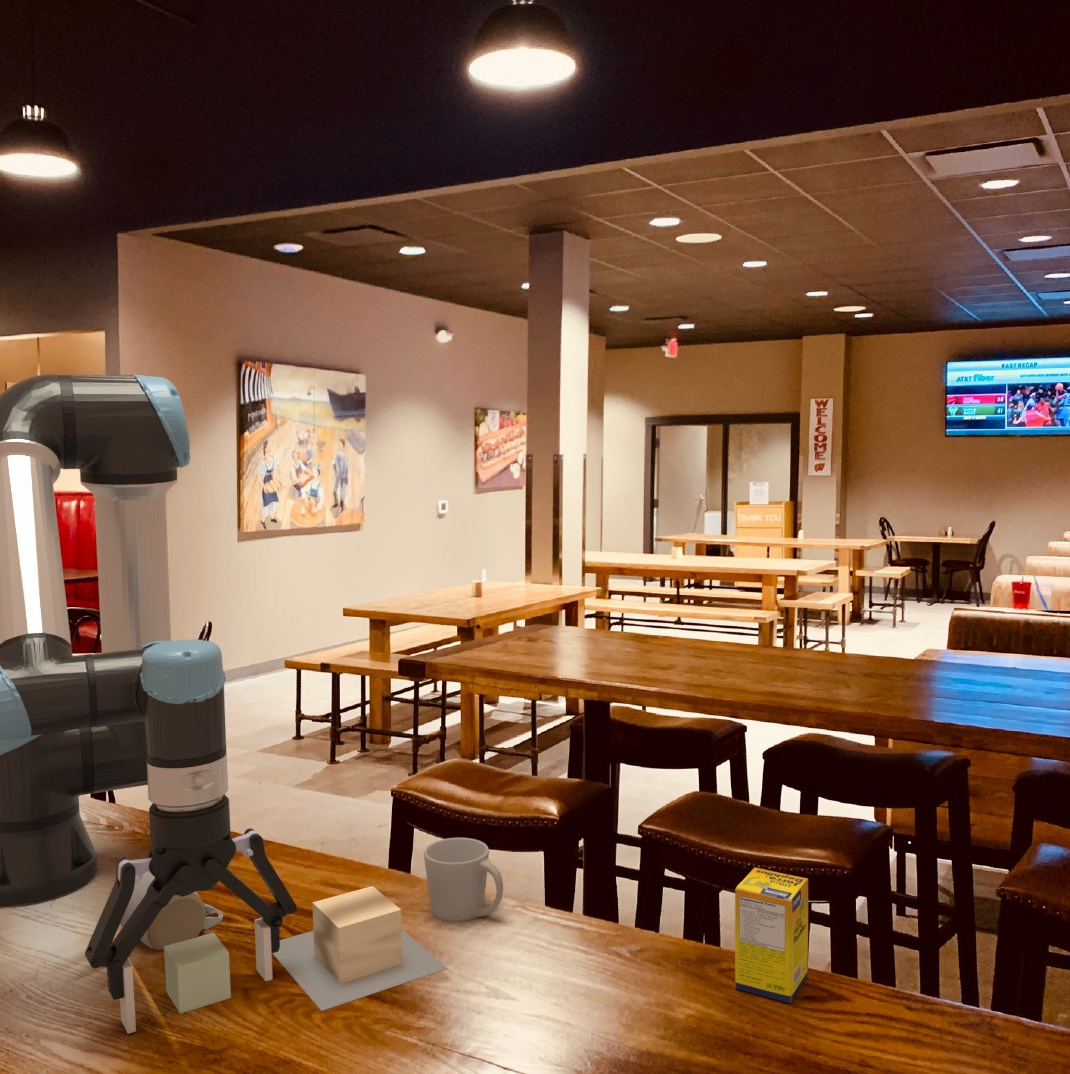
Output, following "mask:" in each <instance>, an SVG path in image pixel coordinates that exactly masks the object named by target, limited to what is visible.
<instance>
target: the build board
mask: <svg viewBox="0 0 1070 1074" xmlns="http://www.w3.org/2000/svg"><path fill="white" fill-rule="evenodd" d="M401 929H402V964H401V965H398V966H395V967H392V968H389V969H386V970H383V971H379V972H376V973H373V974H370V975H367V976H364V977H361V978H358V979H355V980H352V981H349V982H346V983H343V984H340V983H339V982H338V981H337V980H336V979H335V978H334V977H333V975H332V974H331V973H330V972H329V971H328V970H327V969H326V968H325V967H324V966H323V965H322V964H321V963H320V961H319V960H318V959H317V958H316V957H315V956H314V931H313V930H311V931H308V932H303V933H301V934H297V935H294V936H293V935H292V936H290V937H286V938H283V939H280V948H279V951H278V952H275V953H272V956H274V957H275V959H276V960H277V961H278V962H279V963H280V964H281V966H283V968H284V969H285V970H286V971H287V973H288V974H289V975H290V977H292V979H293V980H294V981H295V983H297V984H298V986H300V988H301V989H302V991H304V993H305V994H307V996H308V998H310V999H311V1001H312V1002H313V1003H314V1004H315V1005H316V1006H317V1007H316V1008H318V1009H319V1011H321V1012H323V1011H327V1010H329V1009H332V1008H335V1007H339V1006H340V1005H341V1006H342V1005H343V1004H347V1003H350V1002H353V1001H356V1000H359V999H361V998H364V997H368V996H371V995H374V994H377V993H380V992H382V991H385V990H388V989H392V988H395V987H398V986H400V985H403V984H406V983H409V982H412V981H415V980H418V979H422V978H425V977H427V976H430V975H433V974H436V973H439V972H441V971H445V970H447V969H449V968H448V967H447V966H446V965H445V964H443V962H441V961H440V960H439V959H438V958H436V957H435V956H434V955H433V954H432V953H431V952H430V951H428V950H427V949H426V947H424V946H423V945H422V944H420V943H419V942H418V941H417V940H416V939H414V938H413V937H412V936H411V935H410V934H409V933H407V932H406V931H405V930H404V928H402V927H401Z"/></svg>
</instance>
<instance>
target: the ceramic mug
mask: <svg viewBox="0 0 1070 1074" xmlns="http://www.w3.org/2000/svg"><path fill="white" fill-rule="evenodd" d="M154 878H155V877H154V876H153V875H152V874H151V873H150V871H148V872H146V873H144V874H143V876H142V878H141V881H140V882H139V883H137V884H135V886H134V891H133V894H132V897H131V899H130V902H129V904H128V906H127V909H126V911H125V913H124V916H123V918H122V920H121V923H120V925H121V927H122V928H123V926H124V925H125V923H126V922H127V920H128V919H129V918H130V916H131V915H132V913H133V912H134V910H135V909H136V908H137V906H138V905H139V903H140V902H141V900H142V899H143V898H144V896H145V895H146V893H147V889H148V887H149V885H150V884H151V882H152V881H153V880H154ZM215 913H217V915H218V916H214V917H213V916H207V915H211V914H212V915H213V914H215ZM223 919H224V914H223V913H222V911H220V910H219V909H218V908H216V907H214V906H212V905H210V904H208V903H207V904H206V903H205V902H203V899H202V897H201V896H200V895H199V894H198V891H196V892H194V893H192V894H190V895H187V896H183V897H180V896H179V895H174V896H173V897H172V899H171V900H170V902H169V903H168V904H167V906H165V907H163V908H162V909H161V911H160V912H159V914H158V915H157V917H156V918H155V920H154V921H153V922H152V924H151V925H150V927H149V928H148V930H147V931H146V933H145V934H144V935H143V937H142V938H141V940H140V941H141V942H142V943H143V944H144V945H146V947H148V948H150V949H152V950H155V951H164V946H167V945H171V944H174V943H178V942H182V941H185V940H189V939H192V938H196V937H199V936H200V933H201V932H202V931H206V930H208V929H210V928H213V927H215V926H217V925H218V924H220V923H221V922H222V921H223Z"/></svg>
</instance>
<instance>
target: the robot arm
mask: <svg viewBox="0 0 1070 1074" xmlns="http://www.w3.org/2000/svg"><path fill="white" fill-rule="evenodd" d="M190 445H191V444H190V433H189V428H188V423H187V418H186V414H185V410H184V406H183V403H182V400H181V396H180V393H179V392H178V389H177V388H176V386H175V385H174V383H172V381H170V380H169V379H167V378H165V377H162V376H151V375H140V374H116V375H115V374H111V375H110V374H107V375H105V374H103V375H102V374H100V375H99V374H98V375H96V374H94V375H93V374H89V375H88V374H58V373H46V374H38V375H35V376H30V377H28V378H24V379H22V380H21V381H18V382H16V383H15V384H12V385H11V386H10V387H8V388H7V389H5V390H4V391H2V392H1V393H0V907H10V906H11V907H13V906H24V905H28V904H29V905H31V904H36V903H41V902H44V901H49V900H52V899H57V898H60V897H62V896H65V895H67V894H69V893H73V892H74V891H76V890H79V889H80V888H82V887H84V886H86V885H87V884H88V883H90V882H91V881H92V880H93V879H94V878H95V877H96V875H97V873H98V870H99V869H98V856H97V855H98V853H97V851H96V849H95V846H94V844H93V842H92V839H91V837H90V835H89V832H88V830H87V828H86V825H85V823H84V821H83V819H82V816H81V813H80V798H79V797H80V796H85V795H91V794H98V793H104V792H105V793H106V792H109V791H110V792H111V791H116V790H125V789H129V788H135V787H143V786H147V798H148V801H150V802H151V805H150V807H149V808H148V816H149V817H148V818H149V819H148V821H149V835H150V850H149V854H148V856H147V858H139V859H132V860H130V859H129V857H127V856H122V857H120V858H119V859H117V861H116V867H115V868H116V871H115V882H114V884H113V887H112V889H111V891H110V893H109V895H108V897H107V900H106V903H105V905H104V907H103V910H102V912H101V914H100V916H99V918H98V921H97V924H96V926H95V928H94V931H93V932H92V934H91V937H90V940H89V942H88V944H87V946H86V949H85V951H84V955H85V958H86V960H87V962H88V964H89V965H90V967H91V968H92V969H99V968H105V969H106V974H107V975H106V976H107V977H106V978H107V989H108V992H109V994H110V997H111V998H112V999H113V1001H116V1000H119V1004H120V1021H121V1023H122V1025H123V1028H124V1029H125V1031H126V1033H127V1034H128V1035H129V1034H131V1033H134V1032H135V1033H136V1032H137V1027H136V1026H137V1025H136V1009H135V1005H136V1004H135V992H134V991H135V989H134V971H133V965H132V963H131V962H130V960H129V957H130V956H131V955H132V953H133V951H134V950H135V949H136V947H137V946H138V944H139V943H140V941H141V938H142V937H143V935H144V934H145V933H146V931H147V930H148V928H149V927H150V925H151V924H152V922H153V921H154V920H155V918H156V917H157V915H158V914H159V912H160V911H161V909H162V908H163V907H165V906H167V904H168V903H169V902H170V900H171V899H172V897H173V896H174V895H179V896H180V897H183V896H187V895H190V894H192V893H194V892H206V891H211V890H213V888H214V886H216V885H217V884H218V883H219V882H220V883H221V884H222V885H224V886H225V887H226V888H227V889H228V890H230V891H231V892H232V893H233V894H235V895H236V896H237V897H238V899H240V900H241V901H243V902H244V903H245V904H246V905H247V906H248V907H249V908H251V909H252V910H253V911H255V912H256V913H257V914H258V915H259V916H260V917H259V918H257V919H254V920H253V922H254V938H255V940H254V941H255V963H256V964H255V965H256V966H255V967H256V971H257V973H258V974H259V976H260V977H261V978H263V981H265V982H267V981H272V980H273V962H272V961H273V959H272V958H273V957H272V956H273V954H272V953H275V952H278V951H279V948H280V940H281V938H280V927H281V926H282V925H283V922H284V919H283V918H284V917H285V916H287V915H293V914H294V913H296V911H297V907H298V906H297V904H296V902H295V900H294V899H293V898H292V896H291V894H290V892H289V891H288V889H287V888H286V886H285V885H284V882H283V881H282V880H281V878H280V877H279V875H278V873H277V872H276V870H275V868H274V866H273V865H272V863H271V862H270V860H269V859H268V857H267V855H266V851H265V850H266V849H265V844H264V839H263V837H262V836H261V835H260V834H259V833H258V832H257V831H255V829H254V828H247V829H246V830H245V831H244V832H243V834H242V835H239V836H236V837H234V838H233V837H232V835H231V815H230V814H231V813H230V812H231V811H230V798H229V797H228V796H227V795H226V794H227V792H228V791H229V776H228V774H229V771H228V754H227V735H226V734H227V733H226V710H225V706H226V705H225V704H226V703H225V700H226V699H225V682H226V672H225V670H224V668H223V667H224V666H223V655H222V654H223V653H222V650H221V648H220V646H219V645H218V644H216V643H215V642H213V641H211V640H203V639H197V638H196V639H195V638H194V639H193V638H191V639H175V640H172V630H171V608H170V607H171V603H170V581H169V580H170V579H169V577H170V576H169V575H170V574H169V554H168V553H169V552H168V529H167V527H168V525H167V524H168V522H167V521H168V520H167V502H166V501H167V499H166V498H167V497H166V495H167V494H168V491H169V490H171V488H172V487H174V485H176V483H178V468H180V469H183V468H184V467H187V466H188V465H189V463H190V460H191V452H190V450H191V447H190ZM61 470H79V477H80V478H79V479H80V485H82V486H83V487H84V488H85V489H86V490H88V491H89V492H90V493H91V494H92V496H93V498H94V515H95V535H96V538H95V539H96V559H97V576H98V577H97V578H98V579H97V580H98V597H99V599H98V600H99V619H100V636H101V637H100V640H101V642H100V643H101V652H100V653H87V654H80V655H76V654H75V655H73V651H72V640H71V631H70V624H69V623H70V622H69V614H68V605H67V598H66V596H67V595H66V589H65V588H66V587H65V580H64V569H63V559H62V554H61V553H62V552H61V544H60V542H61V540H60V534H59V533H60V532H59V526H58V517H57V508H56V498H55V491H54V484H56V482H57V481H58V479H59V477H60V474H61ZM237 851H239V852H240V853H241V854H242V855H243V856H244V857H247V858H249V860H250V861H251V863H252V864H253V866H254V868H255V869H256V870H257V872H258V874H259V875H260V877H261V879H262V881H263V882H264V883H265V885H266V887H267V888H268V890H269V891H270V893H271V894H272V897H273V898H274V900H275V902H273V903H272V904H270V903H268V902H267V901H266V900H265V899H263V898H262V897H261V896H260V895H259V894H257V893H256V892H255V891H254V890H253V889H252V888H251V887H249V886H248V885H247V884H246V883H245V882H244V881H243V880H241V878H239V877H238V876H237V875H236V874H235V873H233V872H232V871H231V870H230V869H229V868H228V866H229V864H230V863H231V861H232V860H233V858H234V856H235V855H236V852H237ZM148 871H150V873H151V874H152V875H153V876H154V877H155V878H154V880H153V881H152V882H151V884H150V885H149V887H148V889H147V893H146V895H145V896H144V898H143V899H142V900H141V902H140V903H139V905H138V906H137V908H136V909H135V910H134V912H133V913H132V915H131V916H130V918H129V919H128V920H127V922H126V923H125V925H124V926H123V927H122V928H121V929H120V930H119V927H120V925H121V924H120V923H121V920H122V918H123V916H124V913H125V911H126V909H127V906H128V904H129V902H130V899H131V897H132V894H133V891H134V886H135V884H137V883H139V882H140V881H141V878H142V876H143V874H144V873H146V872H148ZM118 930H119V932H118V933H117V931H118ZM116 934H117V935H116Z"/></svg>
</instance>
